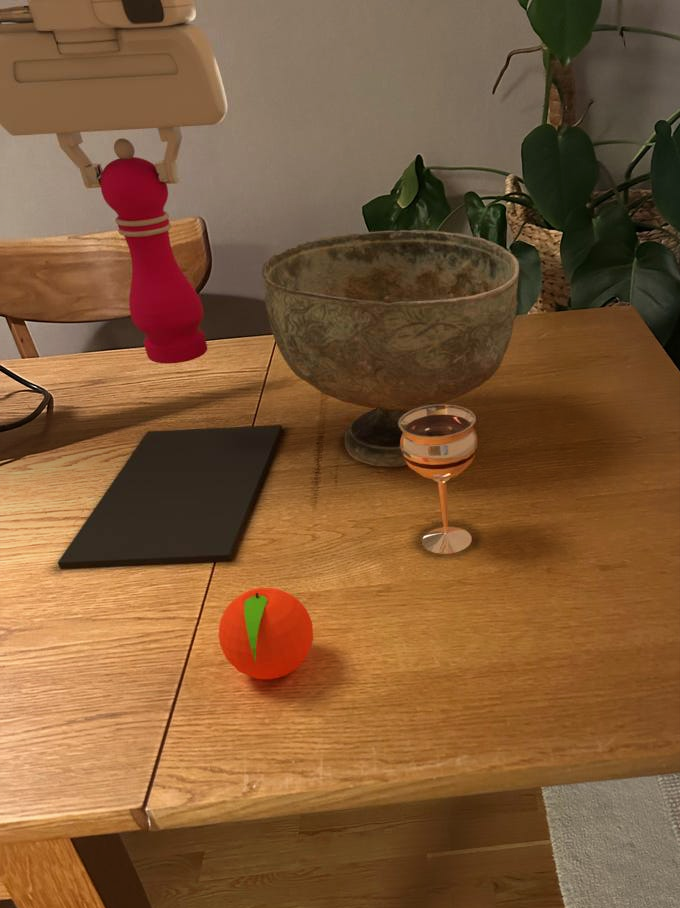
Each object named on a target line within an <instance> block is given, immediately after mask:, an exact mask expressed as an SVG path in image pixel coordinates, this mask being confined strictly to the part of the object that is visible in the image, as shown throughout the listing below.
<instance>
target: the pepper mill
mask: <svg viewBox="0 0 680 908" xmlns="http://www.w3.org/2000/svg"><path fill="white" fill-rule="evenodd" d="M113 150H114V151H113V152H114V154H115V155H116V157H117V159H114V160H112V161H110V162H109V163H108V164H106V166H105V167H103V172H102V174H101V179H100V185H101V187H100V191H101V195H102V197H103V200H104V201H105V203H106V204H107V205H108V207H109V208H111V209H112V210H113V211H115V213H116V214H117V216H116V218H115V223H116V224H117V228H118V230H117V231H118V234H119V235H121V236H123V237H124V239H125V241H126V244H127V247H128V250H129V254H130V258H131V271H132V274H131V283H130V284H131V285H130V288H129V289H130V290H129V294H128V295H129V296H128V303H129V305H128V306H129V313H130V318H131V322H132V323H133V325H134V326H135V327H136V328H137V329H138V330H139V331H140V332H142V333H143V334H145V336H146V337H145V338H144V339H143V346H144V349H145V352H146V356H147V359H148V360H150V361H151V362H153V363H157V364H170V365H171V364H180V363H185V362H189V361H193V360H195V359H198V358H201V357H202V356H204V355H205V354H206V353H207V351H208V344H207V340H206V336H205V333H204V331H203V330H201V329H199V325H200V324H201V322H202V320H203V317H204V308H203V305H202V301H201V298H200V296H199V294H198V293H197V291H196V290H195V288H194V286H193V284H192V283H191V281H190V280H189V278H187V276H186V275H185V273H184V272H183V270H182V269H181V267H180V265H179V264H178V262H177V260H176V258H175V254H174V251H173V248H172V245H171V240H170V233H169V231H170V230H171V229H172V224H171V222H170V220H169V218H170V214H169V213H168V212H167V211H165V206H166V204H167V201H168V198H169V188H168V184H161V183H160V182H159V179H158V176H159V174H158V173H157V171H156V167H155V163H153V162H152V161H151V162H150V161H149V160H147V159H144V158H141V157H136V156H135V146H134V145H133V143H132V142H131V141H130V140H128V139H126V138H117V140H116V141H115V142H114V144H113Z"/></svg>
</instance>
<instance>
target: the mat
mask: <svg viewBox="0 0 680 908" xmlns="http://www.w3.org/2000/svg"><path fill="white" fill-rule="evenodd" d="M283 432H284V430H283V425H282V424H274V425H272V424H269V425H249V426H229V427H208V428H189V429H188V428H187V429H170V430H169V429H166V430H165V429H164V430H148V431H147V432H146V433H145V435H144V436H143V437H142V439H141V440H140V442H139V443H138V445H137V446H136V448H135V449H134V450H133V452H132V453H131V455H130V456H129V457H128V459H127V461H126V462H125V463H124V465H123V467H122V468H121V470H119V473H118V474H117V475H116V477H115V478H114V480H113V481H112V483H111V484H110V485H109V487H108V489H107V490H106V492H104V495H102V497H101V499H99V501H98V503H97V505H96V506H95V507H94V508H93V510H92V512H91V513H90V514H89V516H88V518H87V519H86V520H85V522H84V523H83V525H82V526H81V528H80V529H79V531H78V532H77V533H76V535H75V537H74V538H73V539H72V541H71V542H70V544H69V545H68V546H67V548H66V550H65V551H64V552H63V554H62V555H61V557H60V558H59V560H58V561H57V564H58V567H59V569H60V570H70V569H71V570H73V569H91V568H92V569H93V568H112V567H113V568H114V567H136V566H157V565H159V566H160V565H179V564H201V563H203V564H204V563H226V562H231V561H232V559H233V557H234V555H235V552H236V550H237V546H238V544H239V542H240V540H241V537H242V534H243V531H244V529H245V526H246V524H247V521H248V520H249V517H250V514H251V512H252V509H253V506H254V504H255V501H256V499H257V496H258V494H259V491H260V489H261V487H262V484H263V481H264V480H265V477H266V474H267V471H268V469H269V466H270V465H271V462H272V459H273V457H274V454H275V452H276V449H277V446H278V444H279V441H280V439H281V436H282V433H283Z"/></svg>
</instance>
